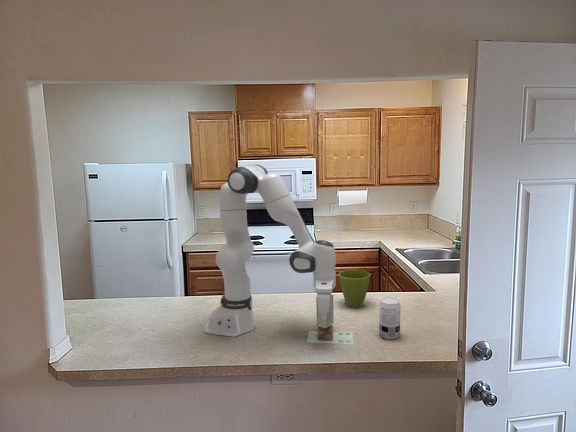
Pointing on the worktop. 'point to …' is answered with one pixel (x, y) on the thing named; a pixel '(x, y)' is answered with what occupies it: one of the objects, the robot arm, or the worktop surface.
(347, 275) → the flower pot
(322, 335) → the walnut brick
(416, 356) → the worktop surface
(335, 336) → the base board
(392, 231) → the worktop surface
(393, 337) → the supplement can
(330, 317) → the skincare box
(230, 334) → the robot arm
